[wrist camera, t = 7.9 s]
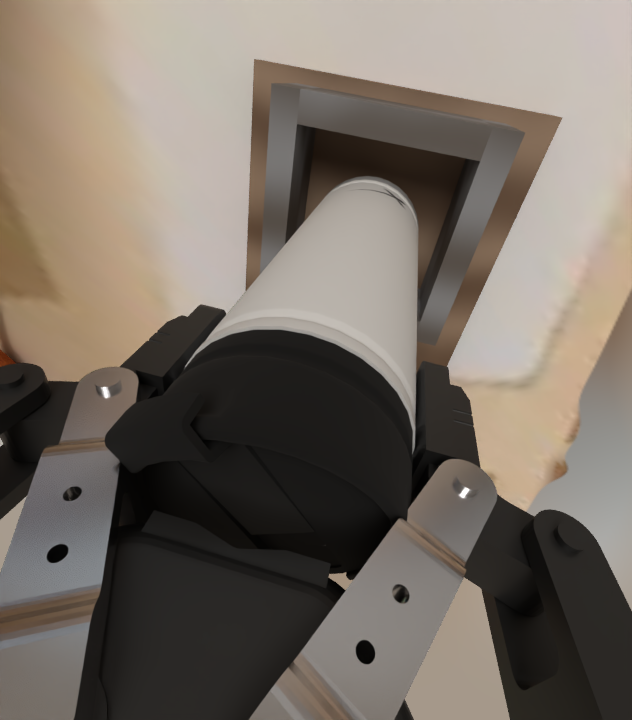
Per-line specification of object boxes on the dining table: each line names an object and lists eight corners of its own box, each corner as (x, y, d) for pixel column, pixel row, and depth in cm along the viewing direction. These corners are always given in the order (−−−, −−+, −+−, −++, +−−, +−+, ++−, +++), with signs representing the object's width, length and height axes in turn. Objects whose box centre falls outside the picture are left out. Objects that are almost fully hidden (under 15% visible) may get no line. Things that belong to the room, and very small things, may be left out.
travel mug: (398, 148, 20) (317, 387, 4) (430, 261, 23) (452, 640, 7) (296, 195, 23) (12, 451, 7) (337, 291, 26) (206, 621, 10)
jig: (262, 60, 24) (200, 51, 17) (554, 115, 22) (612, 130, 16) (249, 343, 37) (211, 400, 30) (430, 389, 36) (432, 460, 29)
